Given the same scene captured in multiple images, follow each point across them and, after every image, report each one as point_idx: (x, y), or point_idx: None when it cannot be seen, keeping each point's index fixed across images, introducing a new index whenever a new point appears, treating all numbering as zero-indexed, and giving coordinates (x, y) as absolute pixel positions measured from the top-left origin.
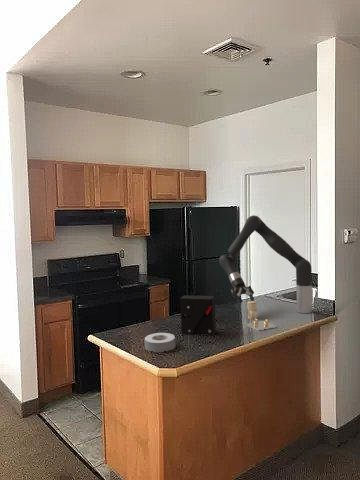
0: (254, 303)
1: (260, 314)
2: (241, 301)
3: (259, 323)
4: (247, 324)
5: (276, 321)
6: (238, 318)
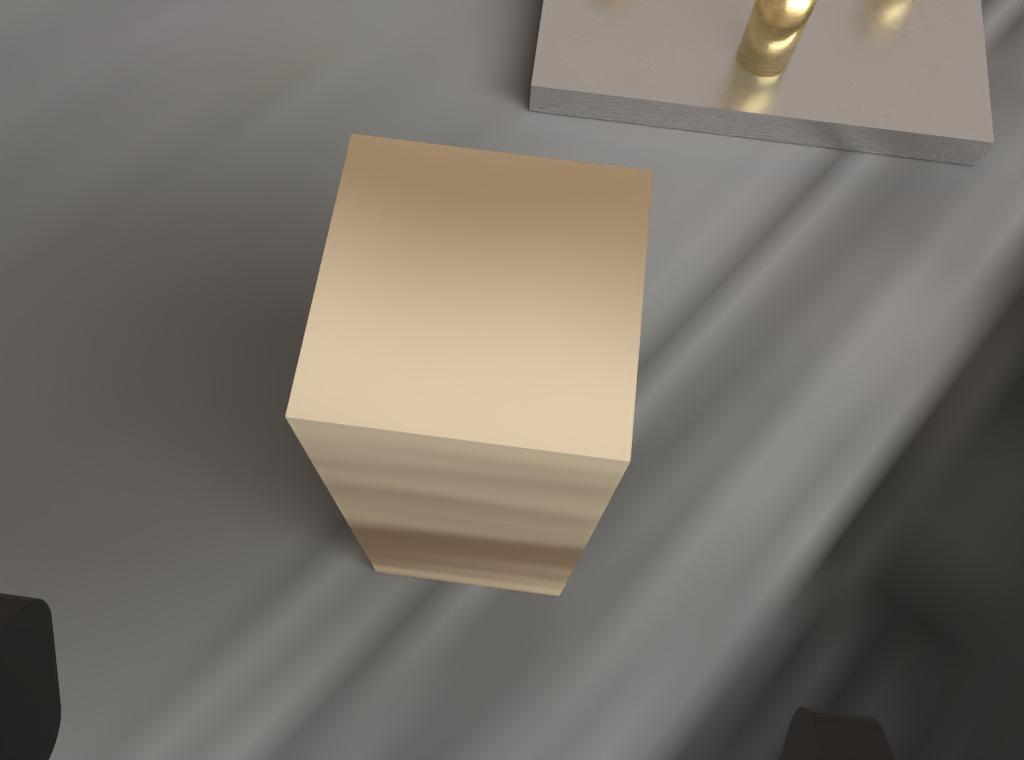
0: (471, 164)
1: None
2: (865, 725)
3: (736, 9)
4: (989, 106)
5: (276, 3)
6: None
